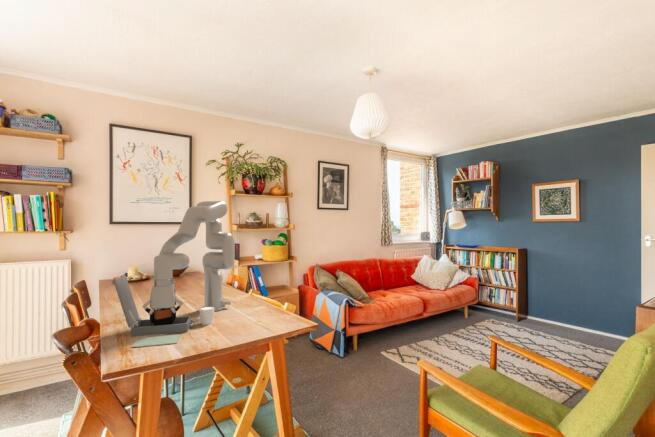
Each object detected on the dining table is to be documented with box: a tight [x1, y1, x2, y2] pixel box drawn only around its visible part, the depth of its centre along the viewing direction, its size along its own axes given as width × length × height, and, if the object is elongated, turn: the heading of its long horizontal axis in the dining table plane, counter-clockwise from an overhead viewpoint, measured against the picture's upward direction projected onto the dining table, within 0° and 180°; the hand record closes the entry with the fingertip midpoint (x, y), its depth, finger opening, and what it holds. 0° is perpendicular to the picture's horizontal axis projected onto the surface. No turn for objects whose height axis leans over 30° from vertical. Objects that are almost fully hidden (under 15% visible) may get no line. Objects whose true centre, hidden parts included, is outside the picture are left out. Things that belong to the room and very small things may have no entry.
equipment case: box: [128, 310, 192, 337], centre depth 143 cm, size 23×12×11 cm, turn 105°
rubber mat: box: [130, 333, 182, 349], centre depth 129 cm, size 16×10×1 cm, turn 105°
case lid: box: [113, 275, 140, 329], centre depth 139 cm, size 21×12×1 cm
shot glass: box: [198, 306, 215, 326], centre depth 153 cm, size 7×7×7 cm
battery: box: [154, 308, 172, 326], centre depth 143 cm, size 4×7×10 cm, turn 134°
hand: (163, 321), depth 143 cm, fingers closed on battery, 7 cm apart
